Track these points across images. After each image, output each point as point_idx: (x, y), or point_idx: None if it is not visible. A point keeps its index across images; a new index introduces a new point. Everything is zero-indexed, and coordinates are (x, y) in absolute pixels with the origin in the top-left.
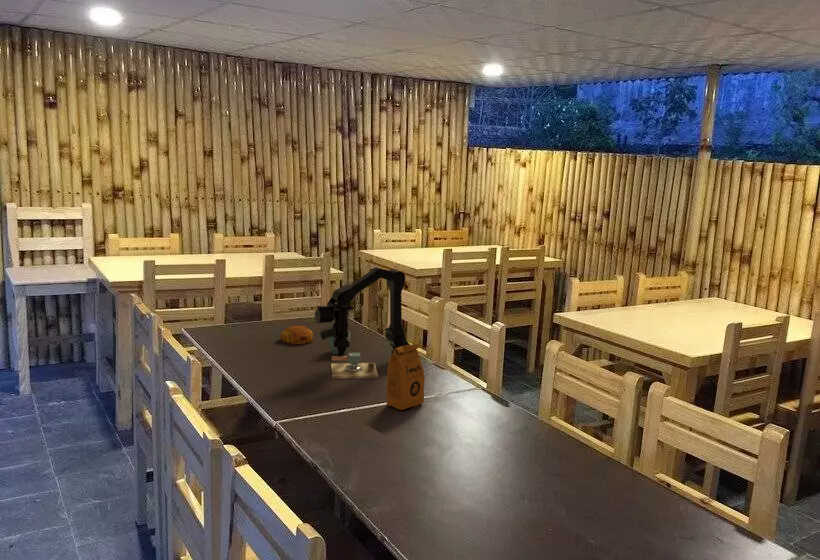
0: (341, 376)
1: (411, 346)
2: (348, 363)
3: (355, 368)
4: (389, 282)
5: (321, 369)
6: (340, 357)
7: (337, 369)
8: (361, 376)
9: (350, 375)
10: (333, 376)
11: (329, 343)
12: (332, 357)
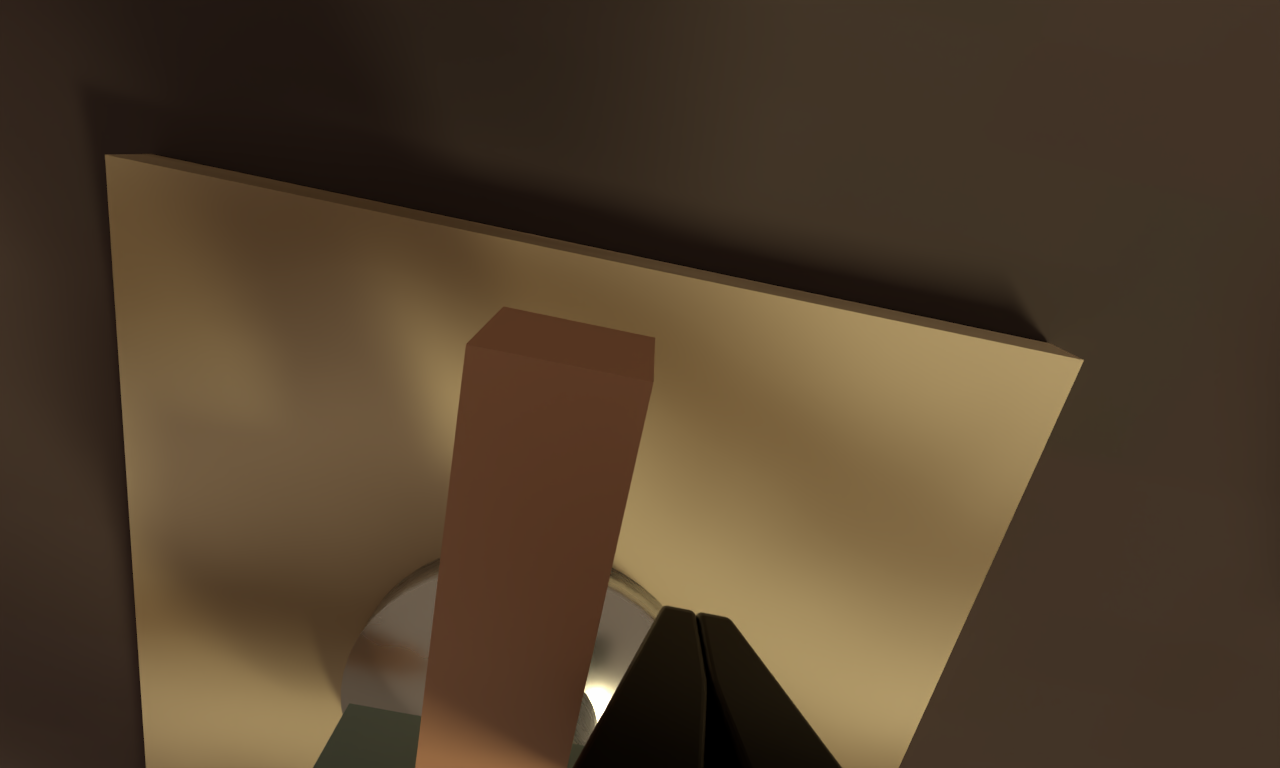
0: (127, 367)
1: None
2: (351, 704)
3: None
4: None
5: (880, 43)
6: (431, 657)
7: None
8: (152, 697)
9: (148, 545)
10: (117, 189)
11: None
12: (471, 372)
